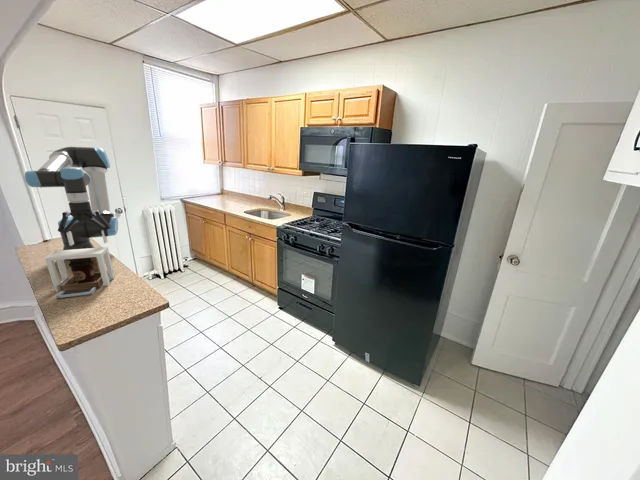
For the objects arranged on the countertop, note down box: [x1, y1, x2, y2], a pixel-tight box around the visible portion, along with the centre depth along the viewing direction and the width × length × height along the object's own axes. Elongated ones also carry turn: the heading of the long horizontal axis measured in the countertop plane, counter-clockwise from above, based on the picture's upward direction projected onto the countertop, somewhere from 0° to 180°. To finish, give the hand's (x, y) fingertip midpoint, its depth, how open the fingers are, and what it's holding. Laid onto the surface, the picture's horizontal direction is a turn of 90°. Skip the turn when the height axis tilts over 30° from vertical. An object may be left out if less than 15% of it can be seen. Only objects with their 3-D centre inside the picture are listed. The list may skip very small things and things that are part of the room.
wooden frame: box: [60, 257, 108, 292], centre depth 126 cm, size 20×14×10 cm, turn 22°
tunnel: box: [44, 246, 115, 292], centre depth 122 cm, size 9×20×16 cm, turn 111°
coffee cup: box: [68, 257, 96, 284], centre depth 122 cm, size 9×8×13 cm
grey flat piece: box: [55, 287, 97, 300], centre depth 115 cm, size 5×12×1 cm, turn 112°
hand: (89, 243), depth 130 cm, fingers open, 13 cm apart
